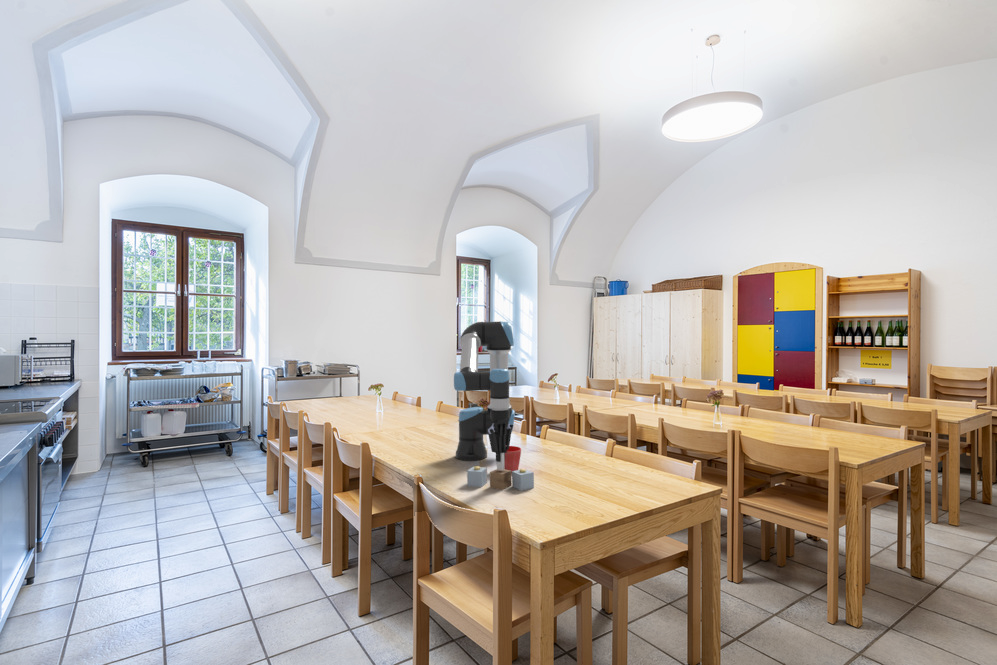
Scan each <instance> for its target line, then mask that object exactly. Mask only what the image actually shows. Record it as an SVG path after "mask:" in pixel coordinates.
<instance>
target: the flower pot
mask: <svg viewBox="0 0 997 665" xmlns="http://www.w3.org/2000/svg"><path fill="white" fill-rule="evenodd" d="M506 451H507V453H505V460H504V469H505V470H511V474H512V471H516V470H519V467H520V462H521V456H522V448H521V447H519V446H515V445H514V446H513V445H509V450H506Z"/></svg>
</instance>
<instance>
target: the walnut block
mask: <svg viewBox="0 0 997 665" xmlns="http://www.w3.org/2000/svg"><path fill="white" fill-rule="evenodd" d="M510 487H512V473H511V470H498V469H497V468H496V469H494V470H491V471H490V472H489V488H493V489H495V490H496V489H497V490H502V491H503V490H506V489H507V488H510Z"/></svg>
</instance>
